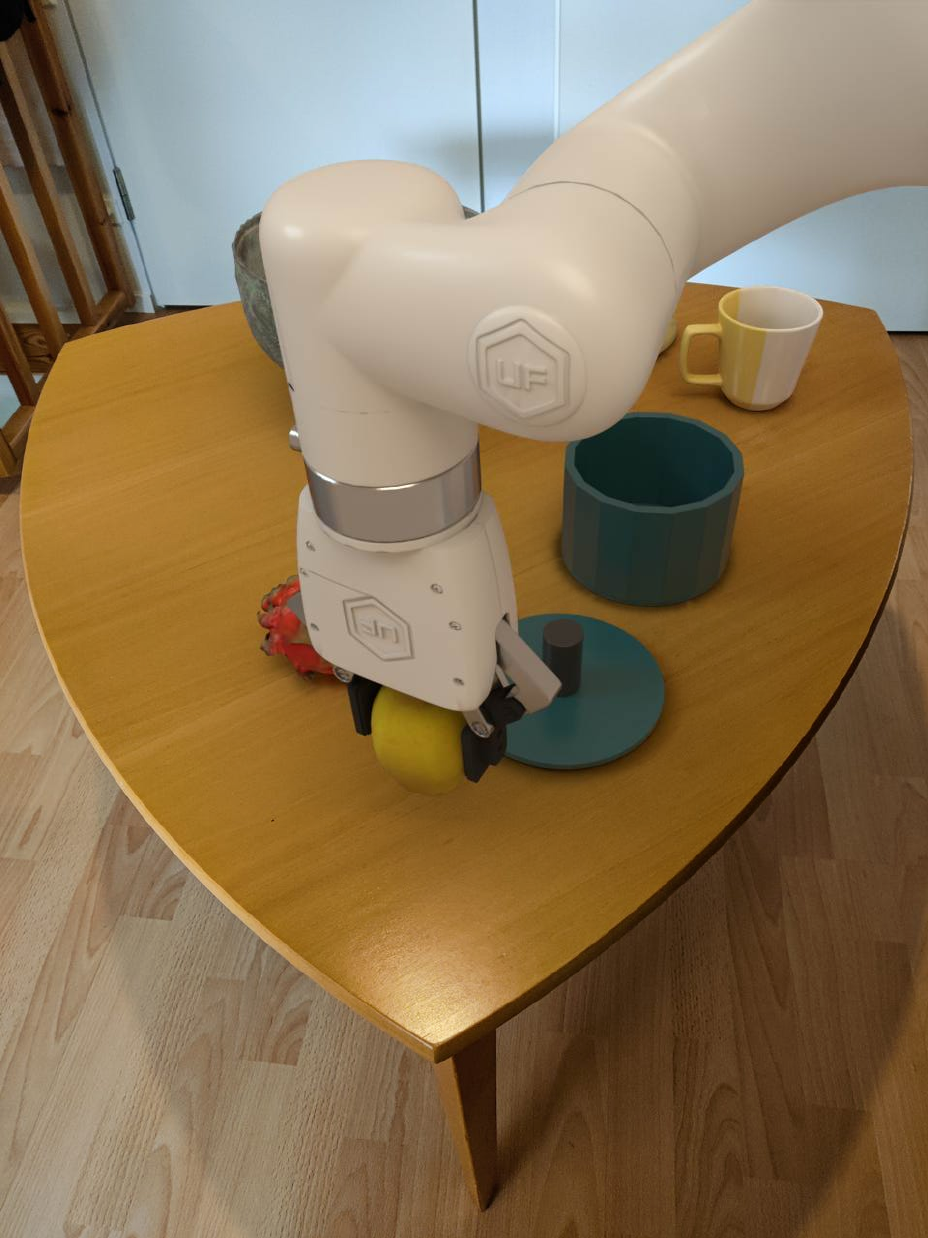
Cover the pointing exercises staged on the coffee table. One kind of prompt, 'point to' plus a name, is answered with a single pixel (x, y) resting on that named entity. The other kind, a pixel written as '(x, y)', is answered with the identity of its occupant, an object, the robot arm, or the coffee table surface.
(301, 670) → the dragon fruit
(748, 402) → the mug
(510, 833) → the coffee table surface
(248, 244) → the decorative bowl
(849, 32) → the robot arm
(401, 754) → the apple
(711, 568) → the pot
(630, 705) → the lid
